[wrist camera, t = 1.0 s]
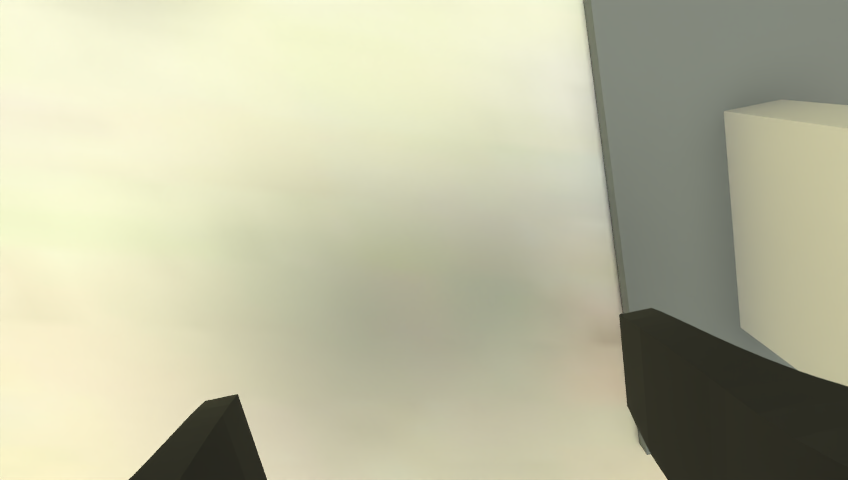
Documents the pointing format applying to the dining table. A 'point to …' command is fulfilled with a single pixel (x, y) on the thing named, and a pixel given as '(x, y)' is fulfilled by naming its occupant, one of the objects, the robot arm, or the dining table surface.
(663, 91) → the tile mat
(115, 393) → the dining table surface
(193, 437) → the robot arm
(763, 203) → the tile
